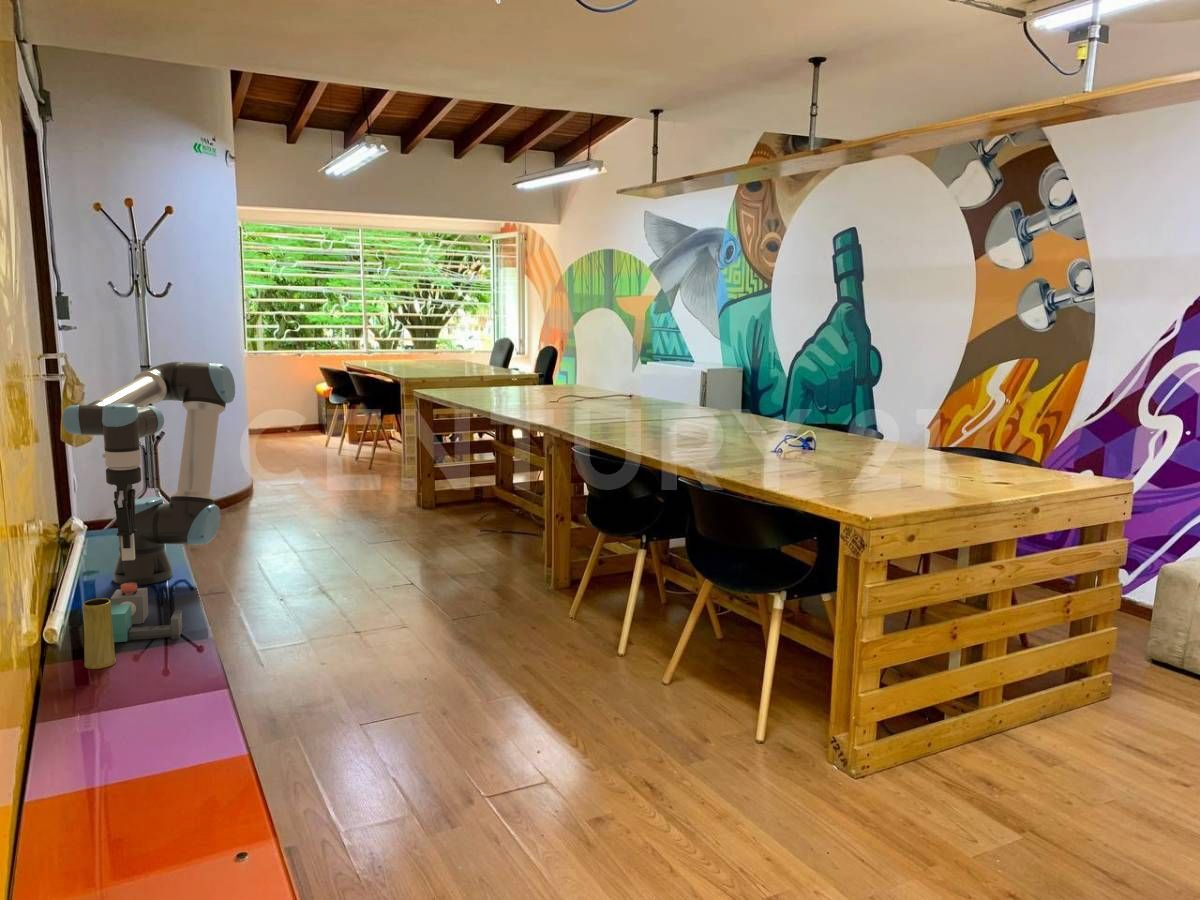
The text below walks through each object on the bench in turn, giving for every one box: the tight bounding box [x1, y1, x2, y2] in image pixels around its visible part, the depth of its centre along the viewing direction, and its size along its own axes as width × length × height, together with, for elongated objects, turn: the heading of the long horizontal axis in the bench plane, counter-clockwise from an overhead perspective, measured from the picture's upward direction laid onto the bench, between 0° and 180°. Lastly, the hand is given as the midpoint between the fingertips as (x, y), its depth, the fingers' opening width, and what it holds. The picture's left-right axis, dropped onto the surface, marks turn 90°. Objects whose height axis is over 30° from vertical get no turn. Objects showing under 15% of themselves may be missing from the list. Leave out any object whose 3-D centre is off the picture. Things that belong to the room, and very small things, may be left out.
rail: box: [127, 609, 183, 641], centre depth 202 cm, size 19×6×5 cm, turn 109°
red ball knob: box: [120, 582, 138, 595], centre depth 212 cm, size 4×4×5 cm
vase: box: [82, 597, 117, 670], centre depth 186 cm, size 6×6×14 cm
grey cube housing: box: [110, 587, 149, 625], centre depth 213 cm, size 7×7×7 cm
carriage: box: [111, 604, 133, 643], centre depth 200 cm, size 6×7×7 cm
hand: (128, 559), depth 211 cm, fingers closed
